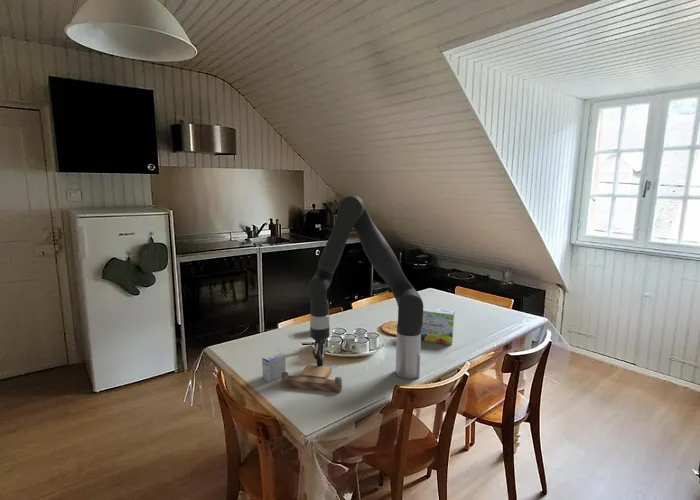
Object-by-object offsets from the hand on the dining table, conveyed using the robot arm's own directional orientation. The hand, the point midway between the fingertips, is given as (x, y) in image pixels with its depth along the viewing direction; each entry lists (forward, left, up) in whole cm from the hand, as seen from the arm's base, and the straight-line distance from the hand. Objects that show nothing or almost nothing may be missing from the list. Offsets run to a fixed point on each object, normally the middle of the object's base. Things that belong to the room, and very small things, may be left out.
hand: (320, 366), depth 160 cm
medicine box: (+16, +8, -2) cm, 18 cm away
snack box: (-43, -39, -2) cm, 58 cm away
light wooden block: (0, +6, -2) cm, 6 cm away
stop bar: (0, +13, -2) cm, 13 cm away
